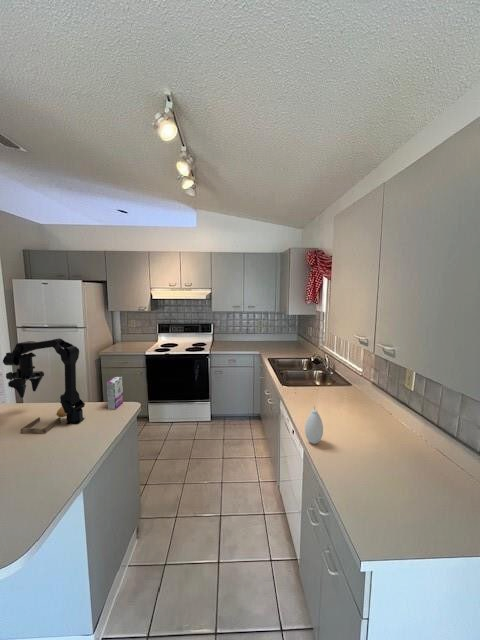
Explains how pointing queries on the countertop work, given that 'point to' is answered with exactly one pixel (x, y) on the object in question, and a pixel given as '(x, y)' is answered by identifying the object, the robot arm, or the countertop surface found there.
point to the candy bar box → (115, 392)
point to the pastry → (61, 412)
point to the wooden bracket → (39, 430)
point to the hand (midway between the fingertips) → (28, 394)
